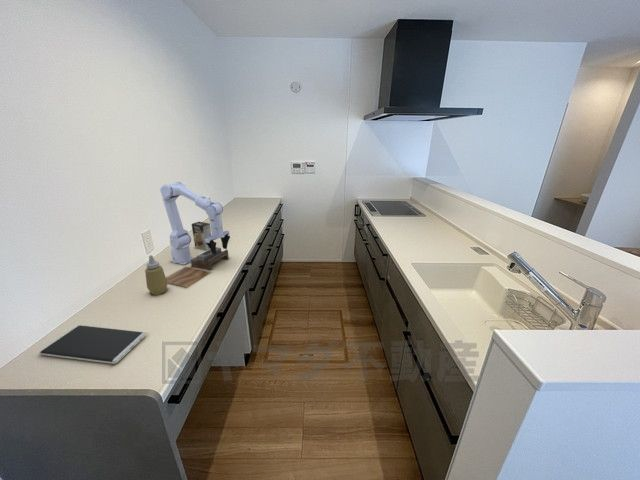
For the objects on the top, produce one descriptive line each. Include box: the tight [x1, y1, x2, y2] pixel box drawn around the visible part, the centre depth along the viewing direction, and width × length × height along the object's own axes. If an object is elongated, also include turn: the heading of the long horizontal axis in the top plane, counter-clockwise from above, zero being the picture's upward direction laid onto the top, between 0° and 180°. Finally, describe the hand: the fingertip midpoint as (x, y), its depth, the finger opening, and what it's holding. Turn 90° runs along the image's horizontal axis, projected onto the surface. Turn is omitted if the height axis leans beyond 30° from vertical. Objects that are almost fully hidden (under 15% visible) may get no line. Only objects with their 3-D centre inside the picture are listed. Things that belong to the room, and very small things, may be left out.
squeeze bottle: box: [144, 254, 168, 296], centre depth 117 cm, size 8×8×18 cm
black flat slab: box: [39, 324, 146, 365], centre depth 88 cm, size 13×27×2 cm, turn 83°
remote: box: [196, 246, 222, 262], centre depth 147 cm, size 14×4×3 cm, turn 161°
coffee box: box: [191, 221, 212, 251], centre depth 166 cm, size 9×6×16 cm
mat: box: [165, 266, 211, 289], centre depth 133 cm, size 16×16×1 cm
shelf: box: [190, 249, 230, 271], centre depth 148 cm, size 12×16×6 cm
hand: (219, 251), depth 140 cm, fingers open, 7 cm apart
